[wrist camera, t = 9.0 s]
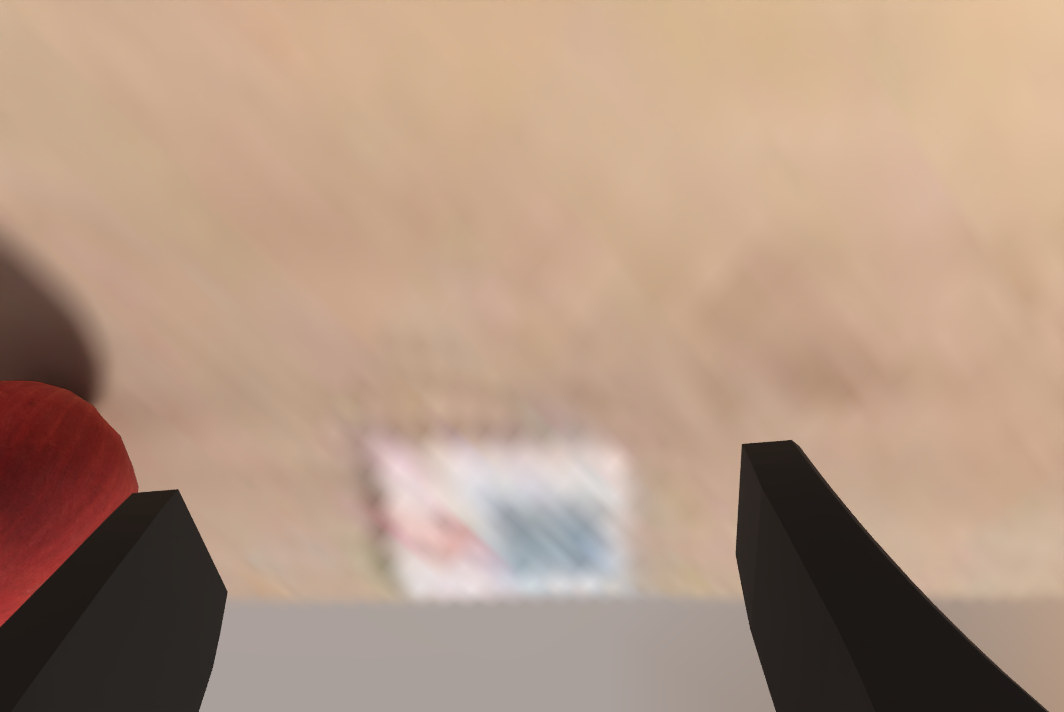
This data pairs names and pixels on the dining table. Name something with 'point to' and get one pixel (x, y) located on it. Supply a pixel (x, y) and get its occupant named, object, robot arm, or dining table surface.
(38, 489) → the onion
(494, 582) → the dining table surface
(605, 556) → the dining table surface
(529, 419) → the dining table surface
